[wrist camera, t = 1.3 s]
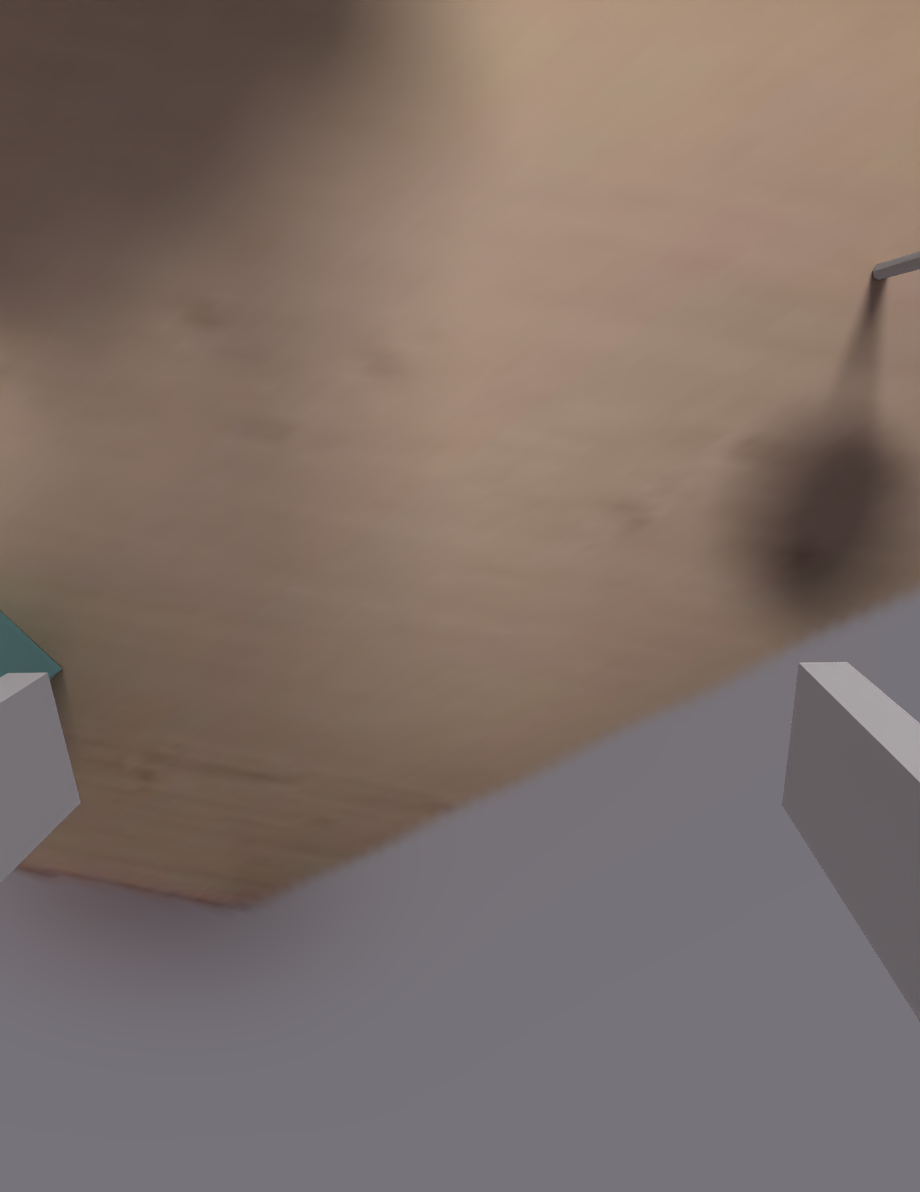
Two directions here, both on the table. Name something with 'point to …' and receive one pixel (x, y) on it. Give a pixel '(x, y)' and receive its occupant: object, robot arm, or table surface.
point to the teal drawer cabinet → (22, 652)
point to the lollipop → (897, 266)
